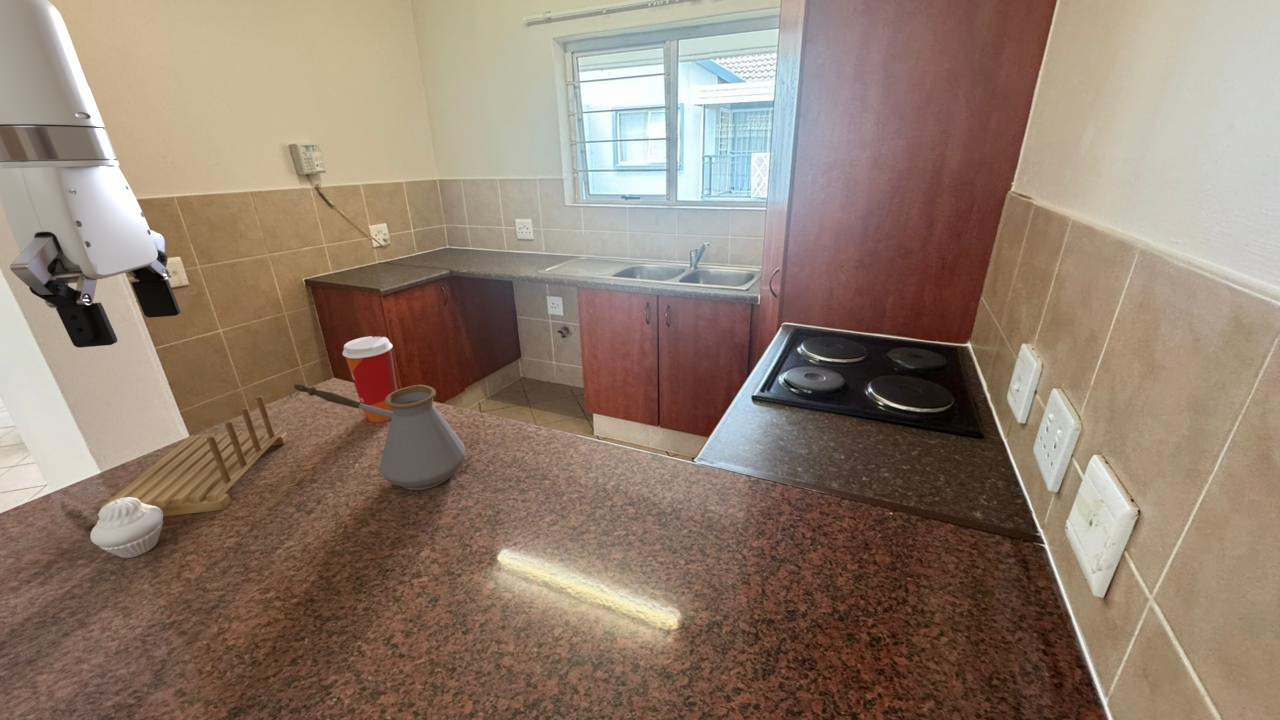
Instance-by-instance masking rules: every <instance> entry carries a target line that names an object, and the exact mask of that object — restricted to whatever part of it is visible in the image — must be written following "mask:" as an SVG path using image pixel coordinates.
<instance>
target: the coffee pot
mask: <svg viewBox="0 0 1280 720" xmlns="http://www.w3.org/2000/svg"><path fill="white" fill-rule="evenodd" d="M295 390H297V392H296V394H295V395H294V396H292V395H293V392H294V391H295ZM300 392H302V393H303V392H304V393H306V394H308V396H311V397H312V396H316V397H319V398H320V399H323V400H325V401H327V402H330V403H333V404H338V405H342V406H346V407H349V408H353V409H354V408H355V409H358V410H359V409H360V410H362V411H363V410H366V411H369V412H372V413H375V414H378V415H381V416H384V417H387V418H390V419H391V420H390V423H389V427H388V430H387V434H386V440H385V443H384V447H383V450H382V455H381V458H380V462H379V471H380V473H381V475H382V477H383V478H384V479H385V480H386V481H387V482H389V483H390V484H392V485H394V486H397V487H401V488H404V489H406V490H409V491H420V490H427V489H431V488H435V487H437V486H439V485H441V484H443V483H445V482H447V481H448V480H449V479H451V477H452V476H453V475H454V474H455V473H456V472H457V470H458V469H459V468H460V467H461V465H462V464H463V462H464V460H465V455H466V451H467V450H466V446H465V444H464V442H463V441H462V440H461V439H460V437H459V435H457V433H456V432H455V431H454V429H452V427H451V426H450V425H449V423H448V422H447V420H446V419H445V418H444V416H442V414H441V413H440V412H439V410H438V409H437V408H436V406H435V405H434V398H435V397H436V394H437V391H436V389H435V388H434V387H433V386H430V385H425V384H415V385H409V386H406V387H403V388H399V389H397V390H396V391H394V392H392V393H390V394H389V395H388V396H387V397H386V398H385V403H386V404H387V406H389V407H391V409H392V411H393V412H391V411H387V410H383V409H380V408H376V407H373V406H369V405H365V404H362V403H360V401H357V400H356V399H355V400H354V399H352V398H349V397H346V396H343V395H341V394H338V393H335V392H332V391H326V390H320V389H317V387H315V386H312V387H308V386H306V385H304V384H297V383H294V385H293V388H292V389H291V391H290V393H289V398H291V399H295V398H296V397H297V396H299V394H300Z"/></svg>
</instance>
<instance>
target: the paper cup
mask: <svg viewBox="0 0 1280 720" xmlns="http://www.w3.org/2000/svg"><path fill="white" fill-rule="evenodd" d="M393 346H394V345H393V344H392V343H391V342H390V340H389V338H388V337H386V336H373V335H369V336H363V337H359V338H355V339H352V340H349V341H347V342H346V343H345V344H344V345H343V351H342V353H341V354H342V356H343V357H345V359H346V363H347V366H348V369H349V372H350V375H351V379H352V381H353V384H354V387H355V390H356V393H357V396H358V400H359V402H360V403H362V404H365V405H369V406H373V407H376V408H380V409H383V410H387V411H391V412H393V411H392V409H391V407H389V406H387V404H386V403H385V398H386V397H387V396H388V395H389V394H390V393H392V392H394V391H396V390H398V385H397V378H396V373H395V365H394V359H393V352H392V348H393ZM362 411H363V414H364V417H365V419H366V421H367V422H369V423H372V424H373V423H375V424H376V423H377V424H379V423H385V422H388V421H391V419H390V418H387V417H384V416H381V415H378V414H375V413H372V412H369V411H366V410H362Z"/></svg>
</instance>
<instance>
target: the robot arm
mask: <svg viewBox="0 0 1280 720" xmlns="http://www.w3.org/2000/svg"><path fill="white" fill-rule="evenodd" d="M120 167H121V164H120V162H119V160H118V156H117V155H116V151H115V149H114V146H113V144H112V141H111V138H110V136H109V134H108V130H107V129H106V126H105V124H104V121H103V118H102V116H101V112H100V110H99V108H98V105H97V103H96V100H95V98H94V95H93V92H92V90H91V87H90V84H89V82H88V80H87V77H86V75H85V72H84V69H83V67H82V64H81V61H80V58H79V56H78V54H77V51H76V49H75V46H74V44H73V41H72V38H71V36H70V33H69V30H68V27H67V26H66V23H65V20H64V19H63V16H62V14H61V13H60V12H59V10H58V9H57V8H56V6H55V5H54V4H53V3H52V2H51V1H49V0H0V202H1V205H2V209H3V211H4V214H5V218H6V220H7V223H8V226H9V228H10V230H11V231H10V232H11V234H12V236H13V239H14V241H15V243H16V246H17V249H18V251H19V253H20V254H19V255H18V256H17V257H16V258H15V259H14V260H13V261H12V262H11V264H10V265H9V269H10V271H11V272H12V273H13V275H15V276H16V277H17V278H18V279H19V280H21V282H22V283H24V284H25V285H26V286H27V287H29V288H28V289H29V291H30V292H31V294H32V295H34V296H36V297H38V298H40V299H41V300H44V303H45V304H46V306H47V307H49V308H51V309H55V310H56V312H57V314H58V317H59V318H60V320H61V322H62V325H63V326H64V328H65V331H66V333H67V335H68V337H69V339H70V341H71V343H72V345H73V346H74V347H75V348H91V347H92V348H93V347H104V346H113V345H114V344H116V343H117V342H118V337H117V335H116V332H115V330H114V329H113V326H112V324H111V321H110V319H109V316H108V315H107V312H106V310H105V308H104V306H103V304H102V302H94V299H95V298H94V297H95V292H96V287H97V283H98V280H103V279H107V278H111V277H114V276H119V275H121V274H124V273H126V274H128V275H129V276H131V277H132V278H133V279H134V280H136V281H132V282H130V284H131V286H132V289H133V291H134V294H135V296H136V299H137V301H138V304H139V306H140V308H141V310H142V313H143V315H144V316H145V318H162V317H176V316H178V315H180V314H181V309H180V307H179V304H178V302H177V299H176V296H175V294H174V291H173V289H172V286H171V283H170V280H169V279H170V277H171V274H170V270H169V269H168V268H167V265H168V256H167V254H166V242H165V238H164V236H163V235H162V234H160V233H158V232H156V231H154V230H151V229H150V226H149V224H148V221H147V219H146V217H145V215H144V213H143V210H142V208H141V206H140V203H139V201H138V199H137V197H136V196H135V194H134V192H133V189H132V188H131V186H130V185H129V183H128V181H127V179H126V177H125V176H124V173H123V172H122V171H121V169H120ZM69 284H76V288H75V289H74V288H73V287H71V286H70V285H69Z"/></svg>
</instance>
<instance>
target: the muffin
mask: <svg viewBox="0 0 1280 720" xmlns="http://www.w3.org/2000/svg"><path fill="white" fill-rule="evenodd" d="M97 516H98V519H97V521H96V524H95V526H93V528H92V529H91V531H90V534H89V537H90V541H91V542H92V543H93V544H94V545H96V546H97V547H99V548H100V549H101V550H103V551H105V552H108V553H110V554H113V555H115V556H117V557H120V558H124V559H131V558H135V557H139V556H141V555H143V554H146V553H147V552H149V551H151V550H152V549H153V548H155V547H156V546H157V544H158V542H159V539H160V535H161V532H162V529H163V525H164V523H163V522H164V520H163V519H164V517H163V512H162V510H161V509H160V508H158V507H156V506H152V505H147V504H144V503H141V502H140V500H139V499H137V498H132V497H126V498H120V499H116V500H115V501H112V502H110V503H108V504H106V505H105V506H104V507H102V508H101V509H99V511H98V513H97Z"/></svg>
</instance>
